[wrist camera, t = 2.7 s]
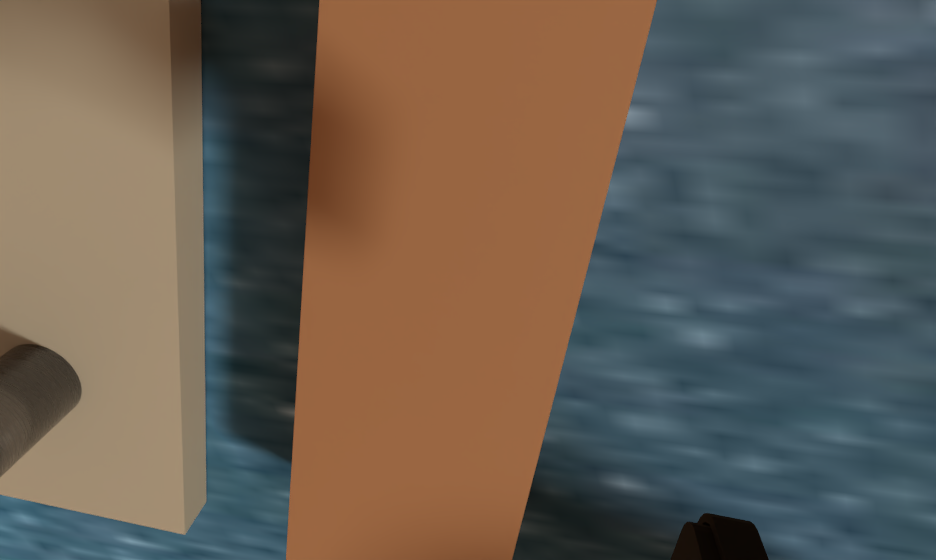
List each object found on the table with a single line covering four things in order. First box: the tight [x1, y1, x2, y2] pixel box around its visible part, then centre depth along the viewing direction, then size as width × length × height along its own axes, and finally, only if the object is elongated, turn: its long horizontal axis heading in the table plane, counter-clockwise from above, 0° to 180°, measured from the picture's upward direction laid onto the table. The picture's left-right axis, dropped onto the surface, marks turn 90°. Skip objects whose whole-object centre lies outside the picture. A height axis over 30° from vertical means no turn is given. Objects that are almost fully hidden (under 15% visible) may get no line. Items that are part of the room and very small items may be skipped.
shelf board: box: [286, 0, 657, 560], centre depth 17 cm, size 20×6×4 cm, turn 171°
